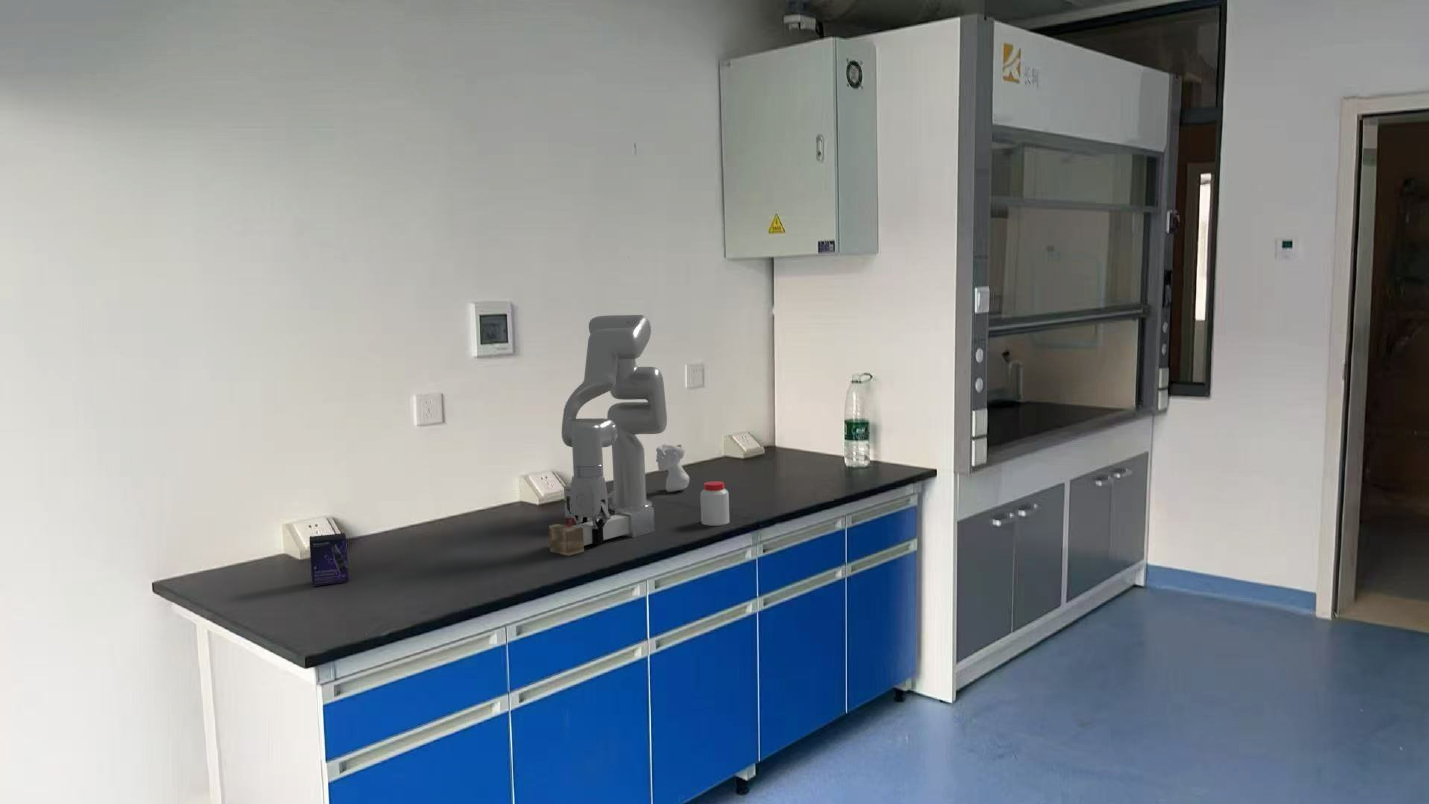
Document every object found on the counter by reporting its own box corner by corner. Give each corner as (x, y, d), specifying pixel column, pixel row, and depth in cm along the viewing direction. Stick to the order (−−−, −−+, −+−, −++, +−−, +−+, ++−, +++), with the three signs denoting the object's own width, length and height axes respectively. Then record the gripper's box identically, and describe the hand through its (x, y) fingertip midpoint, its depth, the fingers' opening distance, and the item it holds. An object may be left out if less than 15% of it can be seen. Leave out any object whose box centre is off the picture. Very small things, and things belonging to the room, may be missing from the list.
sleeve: (615, 534, 268) (614, 510, 268) (637, 528, 274) (636, 504, 274) (633, 537, 264) (631, 513, 263) (654, 531, 270) (653, 507, 269)
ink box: (564, 527, 278) (562, 485, 277) (572, 523, 283) (570, 482, 281) (592, 529, 275) (590, 486, 274) (600, 524, 280) (598, 483, 278)
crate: (550, 551, 252) (549, 525, 252) (565, 547, 256) (564, 521, 255) (568, 555, 248) (567, 529, 247) (584, 551, 251) (582, 525, 251)
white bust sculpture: (695, 491, 321) (693, 445, 320) (665, 496, 315) (663, 449, 314) (679, 487, 329) (677, 441, 328) (649, 492, 323) (647, 445, 321)
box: (312, 587, 228) (308, 541, 227) (311, 581, 233) (308, 535, 232) (349, 582, 231) (346, 536, 230) (348, 576, 236) (344, 531, 235)
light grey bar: (560, 546, 253) (559, 528, 252) (624, 529, 269) (624, 512, 269) (571, 549, 250) (570, 531, 250) (635, 531, 266) (634, 514, 266)
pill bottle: (726, 525, 273) (725, 486, 272) (698, 525, 275) (697, 485, 274) (731, 519, 281) (730, 480, 280) (704, 519, 282) (703, 480, 281)
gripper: (555, 470, 258) (559, 540, 261) (599, 477, 247) (602, 549, 249) (578, 466, 264) (581, 534, 266) (621, 472, 253) (625, 543, 255)
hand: (591, 541), depth 258 cm, fingers closed on light grey bar, 4 cm apart
